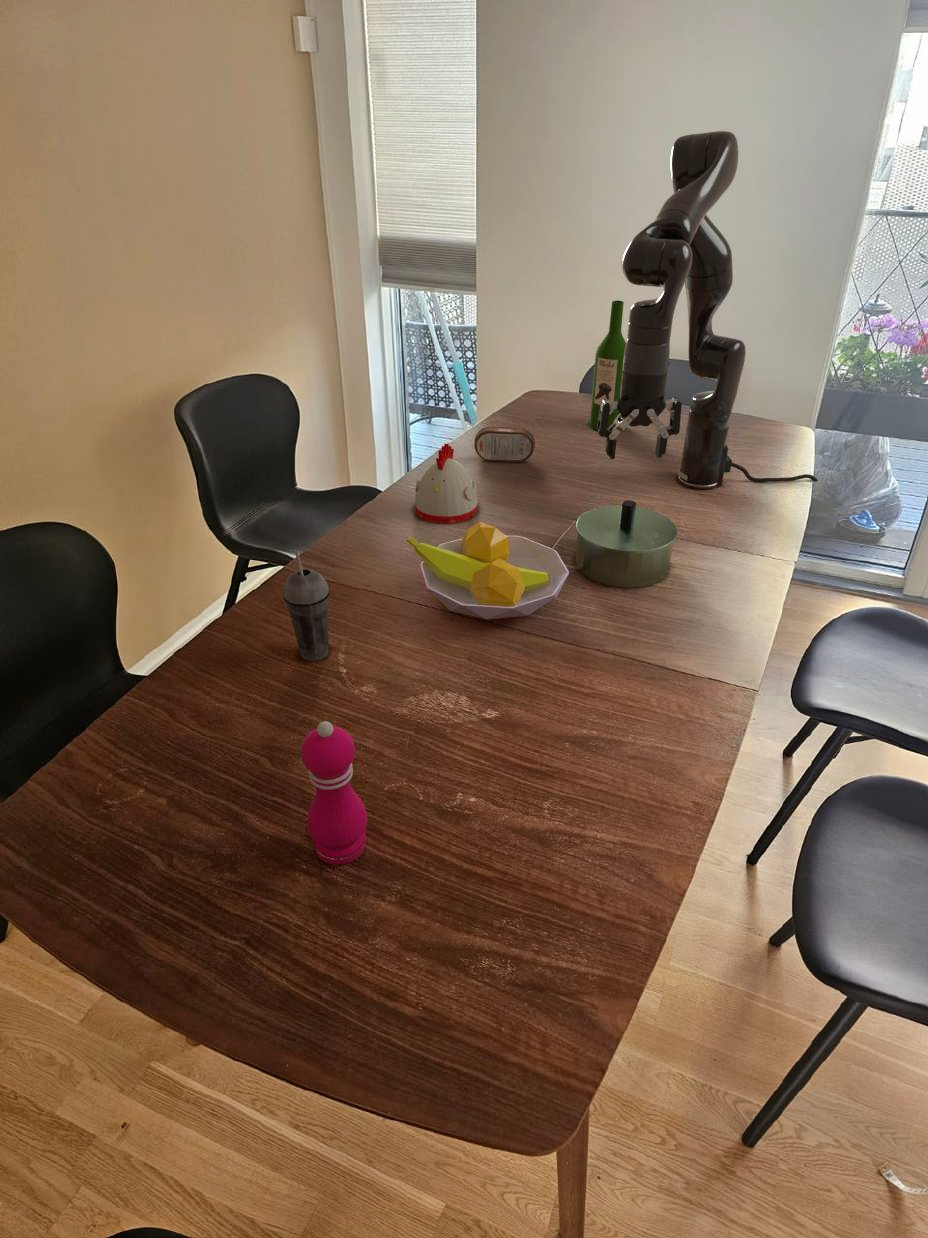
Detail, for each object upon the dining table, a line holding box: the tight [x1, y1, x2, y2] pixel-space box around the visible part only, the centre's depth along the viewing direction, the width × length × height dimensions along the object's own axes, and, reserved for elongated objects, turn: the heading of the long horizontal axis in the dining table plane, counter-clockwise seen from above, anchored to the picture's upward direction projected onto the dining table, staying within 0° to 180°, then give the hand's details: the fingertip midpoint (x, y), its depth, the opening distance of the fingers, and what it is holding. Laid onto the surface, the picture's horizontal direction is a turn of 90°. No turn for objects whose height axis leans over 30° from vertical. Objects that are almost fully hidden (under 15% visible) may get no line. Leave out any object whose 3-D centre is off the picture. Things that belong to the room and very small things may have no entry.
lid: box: [575, 499, 678, 554], centre depth 152 cm, size 19×19×6 cm
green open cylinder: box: [575, 533, 674, 589], centre depth 156 cm, size 18×18×8 cm
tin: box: [473, 425, 536, 463], centre depth 199 cm, size 15×3×8 cm, turn 84°
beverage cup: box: [283, 549, 331, 662], centre depth 128 cm, size 7×7×20 cm
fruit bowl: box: [406, 521, 570, 620], centre depth 146 cm, size 28×27×11 cm
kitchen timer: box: [414, 443, 479, 524], centre depth 174 cm, size 14×14×15 cm
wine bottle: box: [589, 300, 627, 431], centre depth 212 cm, size 9×9×32 cm
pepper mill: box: [300, 720, 369, 866], centre depth 94 cm, size 7×7×20 cm
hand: (634, 456), depth 145 cm, fingers open, 8 cm apart
